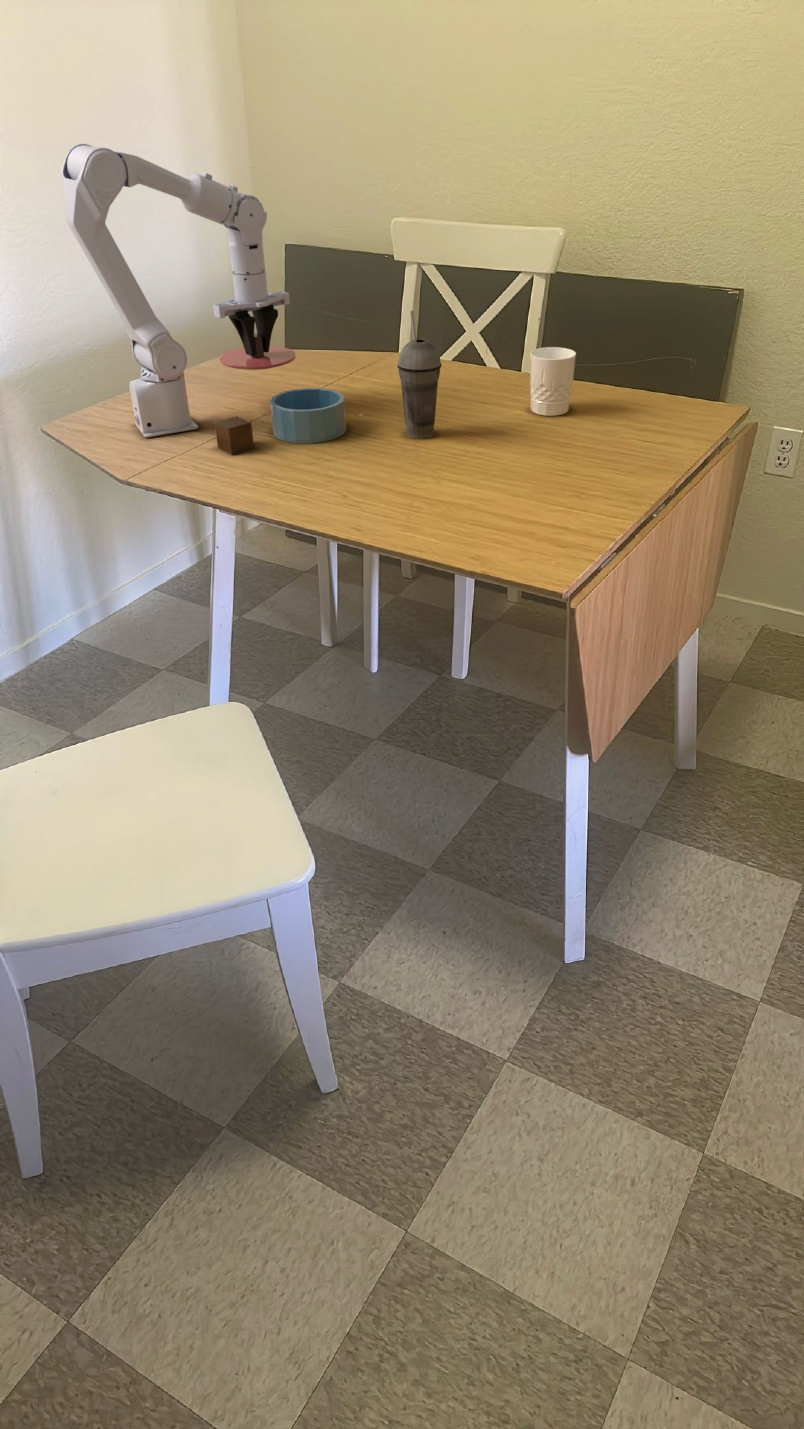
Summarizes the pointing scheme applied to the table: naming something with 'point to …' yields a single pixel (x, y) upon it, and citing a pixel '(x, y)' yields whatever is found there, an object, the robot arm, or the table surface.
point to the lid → (258, 357)
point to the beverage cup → (419, 385)
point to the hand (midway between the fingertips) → (257, 353)
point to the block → (234, 435)
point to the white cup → (551, 380)
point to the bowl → (308, 415)
